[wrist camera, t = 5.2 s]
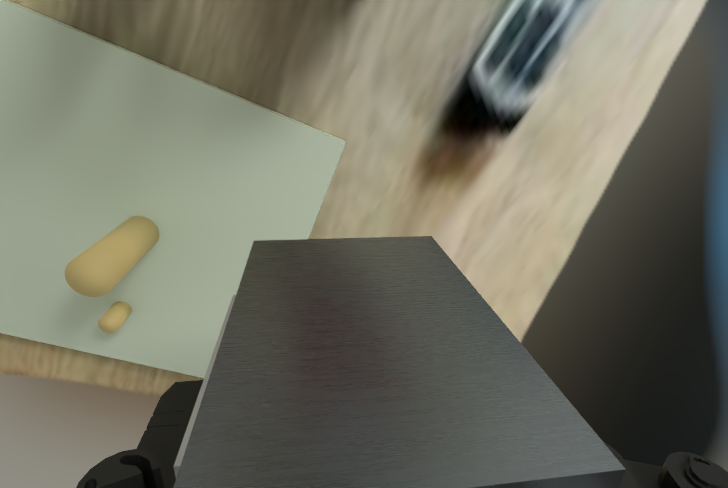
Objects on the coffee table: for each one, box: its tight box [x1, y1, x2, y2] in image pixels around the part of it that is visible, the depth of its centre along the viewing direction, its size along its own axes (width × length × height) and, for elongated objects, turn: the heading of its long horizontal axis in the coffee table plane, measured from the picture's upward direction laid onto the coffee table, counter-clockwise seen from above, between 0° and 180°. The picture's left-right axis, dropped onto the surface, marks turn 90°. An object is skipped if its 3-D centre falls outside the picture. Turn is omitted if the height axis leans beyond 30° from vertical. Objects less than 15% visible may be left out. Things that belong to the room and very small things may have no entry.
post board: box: [0, 0, 346, 378], centre depth 25 cm, size 22×22×8 cm
